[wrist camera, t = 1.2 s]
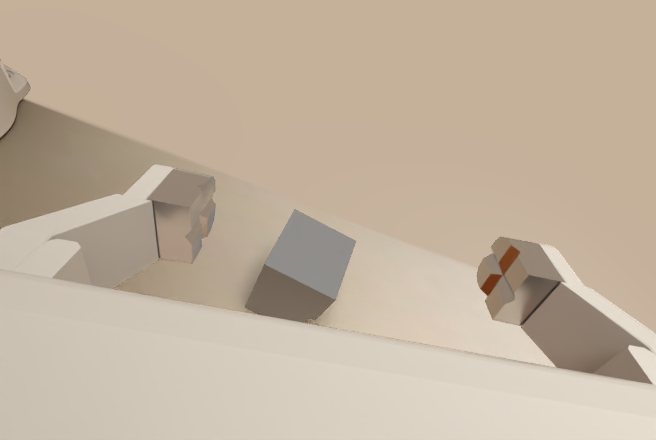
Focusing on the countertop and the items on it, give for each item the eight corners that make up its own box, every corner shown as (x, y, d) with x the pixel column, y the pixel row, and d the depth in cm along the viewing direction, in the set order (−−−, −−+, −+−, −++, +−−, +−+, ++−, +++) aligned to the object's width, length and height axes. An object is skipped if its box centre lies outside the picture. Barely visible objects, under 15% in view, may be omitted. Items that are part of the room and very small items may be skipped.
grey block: (245, 307, 35) (264, 264, 27) (271, 258, 39) (294, 209, 31) (300, 334, 35) (335, 299, 28) (321, 283, 39) (356, 241, 32)
